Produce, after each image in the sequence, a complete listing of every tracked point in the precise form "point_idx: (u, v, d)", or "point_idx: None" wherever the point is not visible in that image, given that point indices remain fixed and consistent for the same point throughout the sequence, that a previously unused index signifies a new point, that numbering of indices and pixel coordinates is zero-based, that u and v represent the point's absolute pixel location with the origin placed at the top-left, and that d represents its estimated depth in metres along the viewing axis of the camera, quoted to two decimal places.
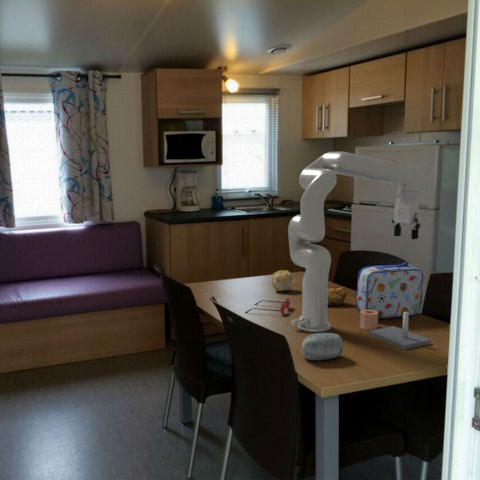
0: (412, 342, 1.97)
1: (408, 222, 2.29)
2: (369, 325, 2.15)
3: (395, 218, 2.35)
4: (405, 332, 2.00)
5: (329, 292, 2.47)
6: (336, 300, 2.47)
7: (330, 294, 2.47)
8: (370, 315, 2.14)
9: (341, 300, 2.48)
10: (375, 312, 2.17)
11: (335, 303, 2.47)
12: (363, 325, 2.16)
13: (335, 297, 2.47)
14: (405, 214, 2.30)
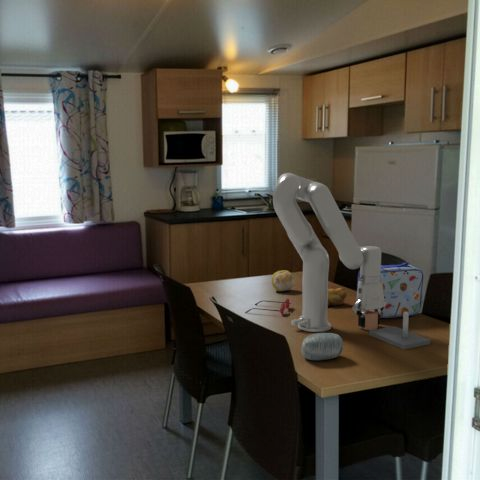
0: (412, 342, 1.97)
1: (382, 306, 2.16)
2: (369, 325, 2.15)
3: (367, 306, 2.13)
4: (405, 332, 2.00)
5: (328, 292, 2.47)
6: (335, 300, 2.46)
7: (329, 294, 2.46)
8: (370, 315, 2.14)
9: (340, 300, 2.48)
10: (375, 312, 2.17)
11: (334, 303, 2.47)
12: None
13: (334, 297, 2.46)
14: (379, 299, 2.15)
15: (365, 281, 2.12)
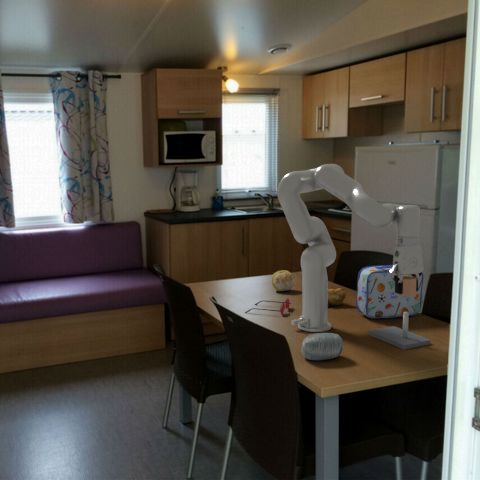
0: (412, 342, 1.97)
1: (421, 270, 1.98)
2: (408, 292, 1.96)
3: (405, 270, 1.94)
4: (405, 332, 2.00)
5: None
6: (334, 301, 2.46)
7: (328, 295, 2.46)
8: (408, 280, 1.95)
9: (339, 301, 2.47)
10: (413, 277, 1.98)
11: (333, 304, 2.46)
12: None
13: (333, 298, 2.46)
14: (417, 262, 1.96)
15: (403, 243, 1.94)
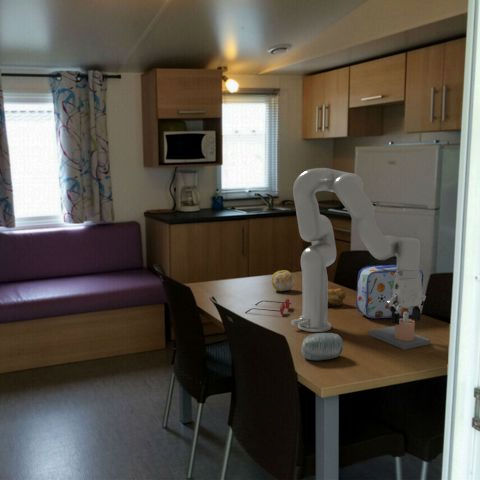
0: (412, 342, 1.97)
1: (420, 303, 1.99)
2: (406, 336, 1.98)
3: (404, 303, 1.95)
4: None
5: None
6: (333, 301, 2.45)
7: None
8: (407, 325, 1.97)
9: (339, 301, 2.47)
10: (412, 321, 2.00)
11: (332, 304, 2.46)
12: (399, 335, 1.99)
13: (332, 298, 2.45)
14: (417, 295, 1.98)
15: (403, 276, 1.95)
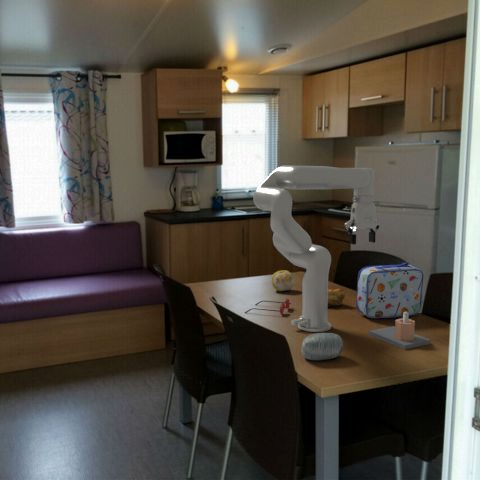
0: (412, 342, 1.97)
1: (375, 226, 2.25)
2: (406, 336, 1.98)
3: (360, 225, 2.22)
4: None
5: None
6: (332, 301, 2.45)
7: None
8: (407, 325, 1.97)
9: (338, 301, 2.46)
10: (412, 321, 2.00)
11: (331, 304, 2.45)
12: (399, 335, 1.99)
13: (331, 298, 2.45)
14: (372, 218, 2.24)
15: (359, 201, 2.21)
